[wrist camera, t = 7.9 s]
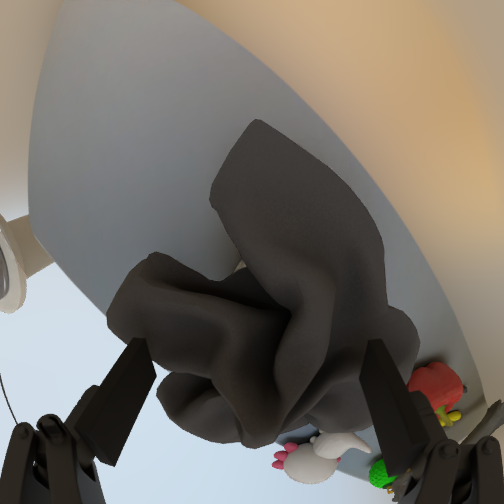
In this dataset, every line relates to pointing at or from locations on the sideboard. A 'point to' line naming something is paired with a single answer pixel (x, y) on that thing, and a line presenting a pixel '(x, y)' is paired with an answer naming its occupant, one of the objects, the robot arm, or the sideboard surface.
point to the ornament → (380, 476)
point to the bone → (486, 427)
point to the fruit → (451, 417)
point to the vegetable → (438, 387)
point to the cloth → (270, 304)
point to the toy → (317, 456)
